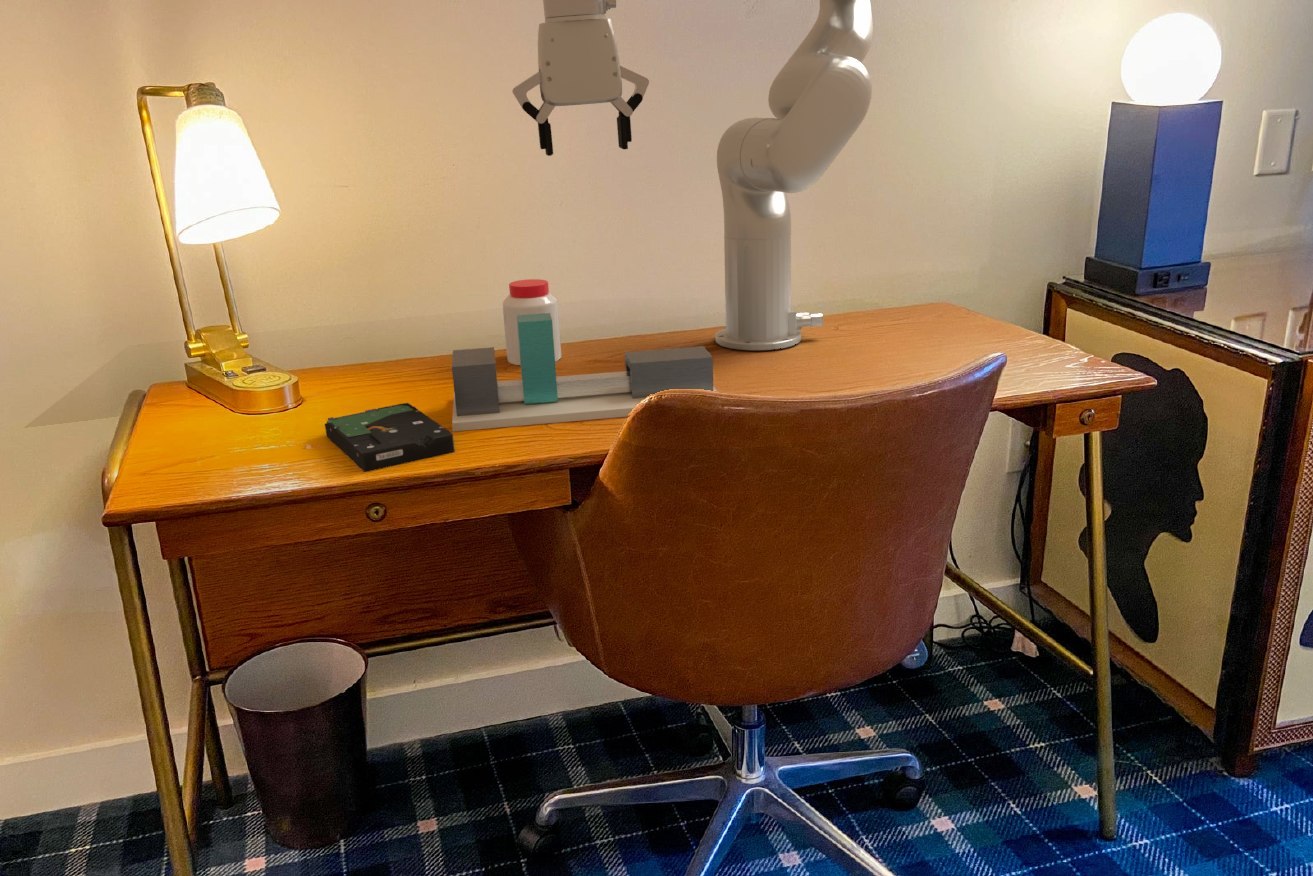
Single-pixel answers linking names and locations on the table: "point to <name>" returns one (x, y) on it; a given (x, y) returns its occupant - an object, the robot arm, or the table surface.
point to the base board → (550, 411)
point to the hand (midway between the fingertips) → (586, 151)
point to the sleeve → (669, 370)
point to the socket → (475, 381)
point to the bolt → (551, 369)
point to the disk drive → (389, 436)
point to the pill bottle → (526, 301)
